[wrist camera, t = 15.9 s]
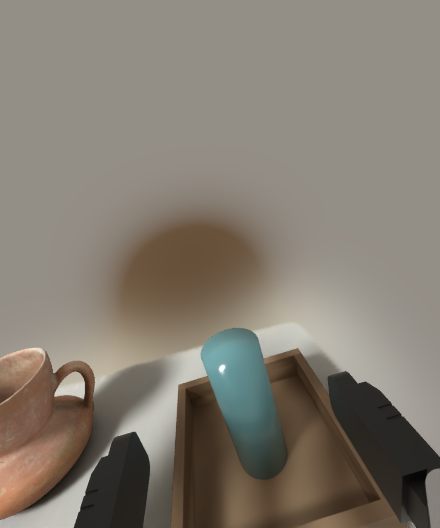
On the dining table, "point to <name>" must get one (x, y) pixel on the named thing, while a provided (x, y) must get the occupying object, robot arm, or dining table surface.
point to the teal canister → (246, 401)
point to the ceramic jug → (39, 426)
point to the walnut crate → (292, 475)
